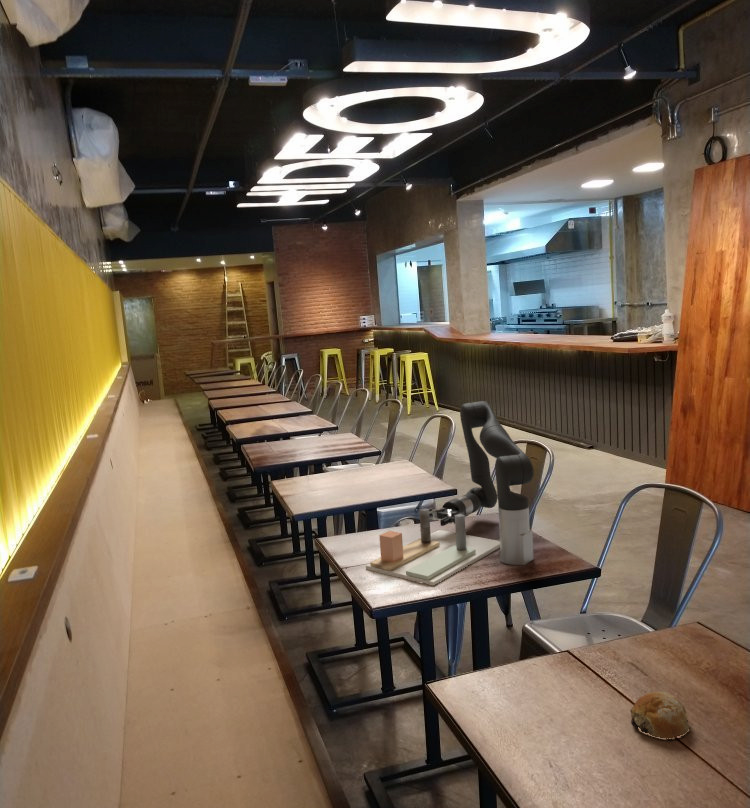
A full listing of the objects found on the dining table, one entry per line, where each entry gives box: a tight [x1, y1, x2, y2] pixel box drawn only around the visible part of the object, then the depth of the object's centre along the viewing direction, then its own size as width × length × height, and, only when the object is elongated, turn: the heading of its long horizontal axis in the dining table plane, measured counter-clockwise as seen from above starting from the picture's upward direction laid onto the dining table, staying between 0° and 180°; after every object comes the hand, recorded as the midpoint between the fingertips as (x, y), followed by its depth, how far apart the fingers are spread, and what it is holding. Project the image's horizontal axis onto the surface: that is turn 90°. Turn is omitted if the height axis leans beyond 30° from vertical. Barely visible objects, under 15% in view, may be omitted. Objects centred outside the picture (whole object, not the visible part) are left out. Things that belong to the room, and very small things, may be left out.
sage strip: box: [406, 514, 476, 580], centre depth 217 cm, size 8×26×12 cm, turn 140°
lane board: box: [365, 529, 500, 586], centre depth 228 cm, size 26×40×1 cm, turn 140°
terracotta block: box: [379, 530, 404, 563], centre depth 221 cm, size 5×5×8 cm
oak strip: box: [369, 508, 440, 571], centre depth 226 cm, size 8×26×12 cm, turn 140°
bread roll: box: [630, 691, 690, 739], centre depth 132 cm, size 10×10×8 cm
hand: (430, 521), depth 237 cm, fingers open, 8 cm apart
